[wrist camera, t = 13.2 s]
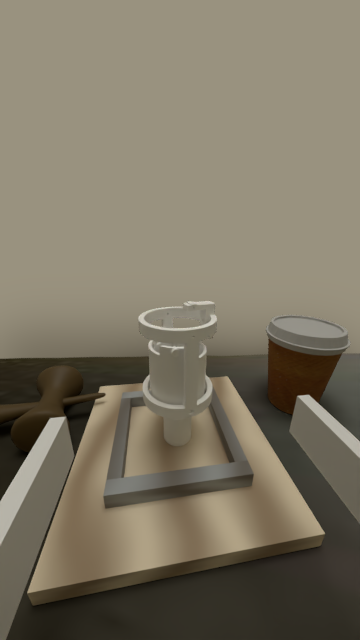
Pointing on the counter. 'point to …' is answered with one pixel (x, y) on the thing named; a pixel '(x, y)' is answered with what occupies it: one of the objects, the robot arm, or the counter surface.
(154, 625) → the counter surface
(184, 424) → the white slotted cylindrical housing
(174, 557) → the locating board
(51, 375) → the kendama
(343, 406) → the counter surface
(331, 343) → the disposable coffee cup
